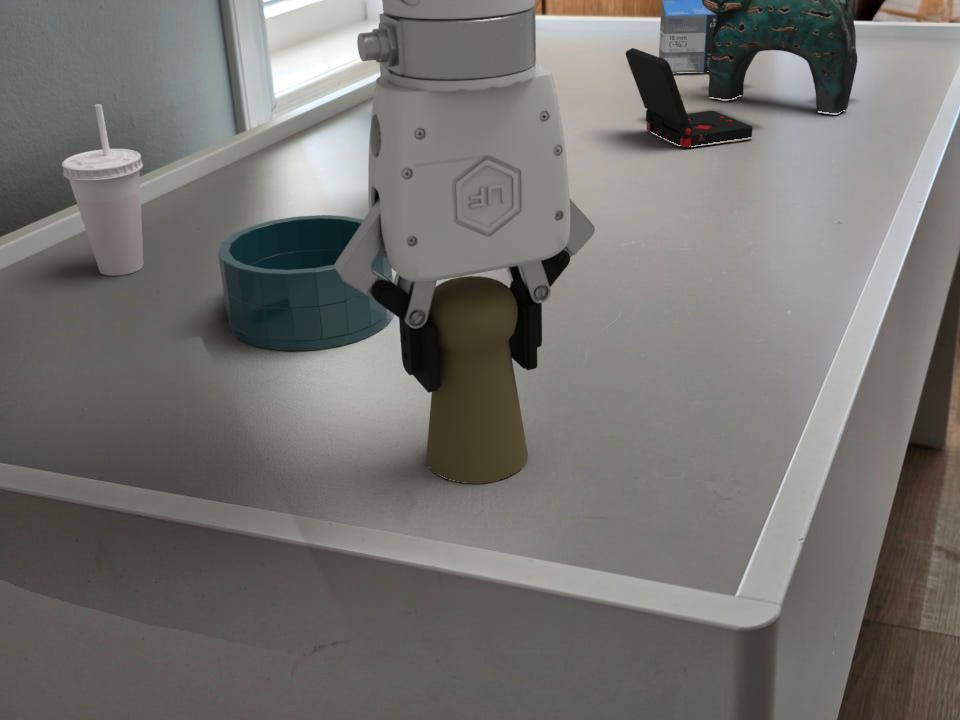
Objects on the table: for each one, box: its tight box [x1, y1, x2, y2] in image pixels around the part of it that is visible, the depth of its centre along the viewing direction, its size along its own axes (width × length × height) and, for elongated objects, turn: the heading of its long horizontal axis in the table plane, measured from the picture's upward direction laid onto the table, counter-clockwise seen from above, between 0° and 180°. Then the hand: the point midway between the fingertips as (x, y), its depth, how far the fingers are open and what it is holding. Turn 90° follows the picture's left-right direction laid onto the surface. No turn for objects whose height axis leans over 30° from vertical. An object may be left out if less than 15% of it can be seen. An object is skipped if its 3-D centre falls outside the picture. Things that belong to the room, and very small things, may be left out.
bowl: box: [217, 214, 395, 352], centre depth 85 cm, size 13×13×6 cm
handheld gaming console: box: [625, 47, 753, 148], centre depth 127 cm, size 9×12×10 cm
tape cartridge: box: [658, 0, 718, 73], centre depth 159 cm, size 9×4×12 cm, turn 90°
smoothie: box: [61, 103, 144, 277], centre depth 94 cm, size 6×6×14 cm
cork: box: [425, 275, 529, 485], centre depth 64 cm, size 6×6×11 cm
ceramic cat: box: [702, 0, 858, 113], centre depth 138 cm, size 20×6×20 cm, turn 49°
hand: (473, 368), depth 64 cm, fingers closed on cork, 5 cm apart
